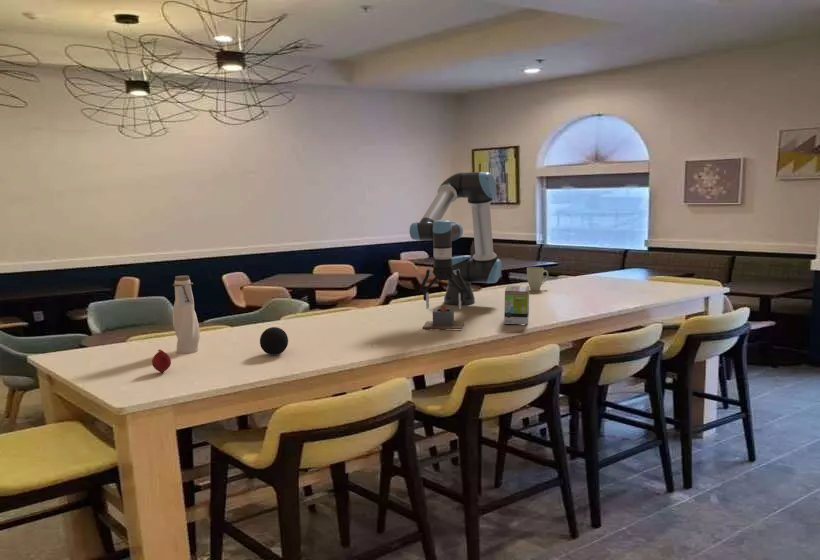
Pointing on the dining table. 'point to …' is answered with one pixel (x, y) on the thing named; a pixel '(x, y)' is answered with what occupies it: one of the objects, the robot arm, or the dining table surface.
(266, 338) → the speaker
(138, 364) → the dining table surface
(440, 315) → the grey square hollow block
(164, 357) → the onion
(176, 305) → the water bottle
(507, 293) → the tea box
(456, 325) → the keeper
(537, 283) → the mug
